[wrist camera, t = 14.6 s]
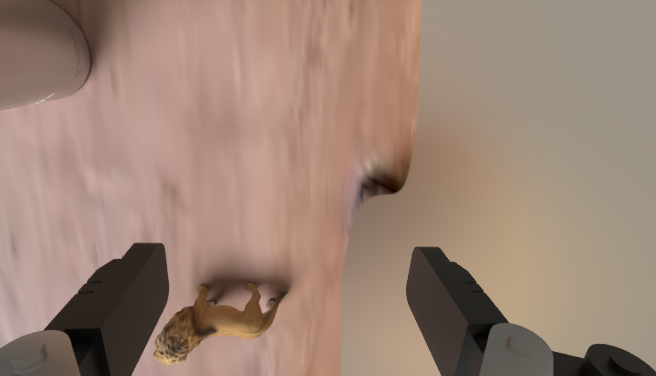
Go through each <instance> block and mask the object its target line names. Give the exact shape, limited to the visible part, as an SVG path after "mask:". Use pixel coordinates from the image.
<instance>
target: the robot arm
mask: <svg viewBox="0 0 656 376" xmlns="http://www.w3.org/2000/svg"><path fill="white" fill-rule="evenodd" d="M89 68H90V53H89V49H88V45H87V42H86V40H85V38H84V36H83V33H82V31H81V30H80V28H79V27H78V26H77V24H76V23H75V21H74V20H73V19H72V18H71V17H70V16H69V15H68V14H67V13H66V12H65V11H63V10H62V9H61V8H59V7H58V6H57V5H55V4H54V3H52V2H50V1H48V0H0V110H5V109H10V108H15V107H20V106H25V105H30V104H35V103H40V102H45V101H50V100H55V99H60V98H64V97H66V96H69V95H71V94H73V93H74V92H76V91H77V90H78V89H80V87H81V86H82V85H83V84H84V82H85V80H86V78H87V76H88V74H89ZM168 295H169V280H168V272H167V263H166V254H165V248H164V245H163V244H162V243H134V244H133V245H132V246H131V248H130V249H129V250H128V251H127V252H126V254H125V255H124V256H123V257H122V259H113V260H112V261H110V262H109V263H107V264H105V265H104V266H102V267H100V268H99V269H97V270H96V272H95V273H94V274H93V275H92V276H91V277H90V278H89V279H88V281H87V284H84V285H83V286H82V287H81V289H80V290H79V291H78V294H75V295H74V296H73V298H72V299H71V300H70V301H69V302H68V303H67V304H66V305H65V307H64V308H63V309H62V310H61V311H60V312H59V313H58V314H57V316H56V317H55V318H54V319H53V320H52V321H51V322H50V323H49V325H48V326H47V327H46V328H45V329H44V330H43V331H39V332H34V333H31V334H28V335H25V336H22V337H20V338H18V339H16V340H14V341H12V342H10V343H8V344H6V345H5V346H3V347H2V348H0V376H131V375H132V373H133V371H134V369H135V367H136V365H137V363H138V361H139V359H140V357H141V355H142V353H143V351H144V349H145V347H146V345H147V342H148V340H149V338H150V336H151V334H152V332H153V330H154V328H155V326H156V324H157V322H158V320H159V318H160V316H161V314H162V312H163V310H164V308H165V306H166V303H167V300H168ZM406 296H407V301H408V304H409V307H410V309H411V311H412V313H413V315H414V317H415V320H416V322H417V324H418V326H419V328H420V330H421V332H422V335H423V337H424V339H425V341H426V343H427V346H428V348H429V350H430V352H431V354H432V356H433V359H434V361H435V363H436V365H437V367H438V369H439V372H440V374H441V376H656V371H655V370H653V369H652V368H651V367H650V366H649V365H648V364H646V363H645V362H644V361H642V360H641V359H640V358H638V357H636V356H635V355H633V354H631V353H629V352H627V351H625V350H623V349H620V348H617V347H614V346H611V345H607V344H594V345H592V346H590V347H589V348H588V350H587V353H586V355H585V357H584V358H580V357H575V356H571V355H567V354H562V353H558V352H554V351H551V349H550V347H549V346H548V345H547V343H546V342H545V341H544V340H543V339H542V338H540V337H539V336H538V335H537V334H535V333H534V332H532V331H530V330H528V329H526V328H524V327H522V326H519V325H515V324H511V323H509V322H508V321H507V319H506V318H505V317H504V316H503V315H502V313H501V312H500V311H499V309H498V308H497V307H496V306H495V305H494V303H493V302H492V301H491V300H490V298H489V297H488V296H487V294H486V293H484V291H483V290H482V288H481V287H480V286H479V285H478V284H477V283H476V281H475V279H474V278H473V277H472V276H471V274H470V273H469V272H468V271H467V270H465V269H464V268H462V267H461V266H460V265H458V264H457V263H455V262H450V261H449V260H448V258H447V257H446V256H445V254H444V253H443V252H442V250H441V249H440V248H439V247H415V248H414V250H413V253H412V258H411V264H410V269H409V274H408V280H407V285H406Z"/></svg>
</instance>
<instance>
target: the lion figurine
mask: <svg viewBox="0 0 656 376" xmlns="http://www.w3.org/2000/svg"><path fill="white" fill-rule="evenodd" d="M246 290H247V291H250V292H252V293H253V296H252V298H251V299H250V301H249V302H248V303H247V304H246V307H245V310H244V311H239V310H237V309H236V308H233V307H231V306H225V305H218V306H215V304H214V302H206V301H207V296H208V294H209V293H208V289H207V288H206V287H205V286H203V285H201V286H199V287H198V289H197V291H198V293H199V294H200V295H199V296H198V298H197V299H196V301H195V303H194V306H189V307H184V308H183V309H182V310H181V311H179V312H177V313H175V315H174V316H173V317H172V318H171V319H170V321H169V322H168V323H167V324H166V325H165V326H164V328H163V330H162V332H161V333H160V334H159V335H158V336H157V339H156V340H155V346H156V350H155V352H154V354H153V358H154V359H157V360H158V361H159V362H162V363H163V364H165V365H170V364H174V363H175V362H176V363H180V362H182V361H185V360H186V357H187V354H189V353H190V351H192V350H193V348H194V347H197V346H199V344H200V342H201V341H202V340H204V339H206V338H208V337H211V336H225V335H232V336H237V337H240V338H243V339H254V338H257V337H259V336H260V335H261V334H262V333H263V332H265V331H266V330H267V329H268V328H269V327H270V325H271V324H272V322H273V320H274V317H275V315H276V312H277V308H278V305H279V303H280V301H281V299H282V298H284V296H285V295H286V294H287V293H288V291H284V292H282V293H281V294H280V295H279V297H278V298H277V300H276V302H274V301H268V302H267V303H266V306H267V307H268V308H270V309H269V310H268V311H267V312H265V313H263V314H262V312H261V309H260V305H259V300H260V298H261V295H260V293H259V292H258V290H257V288H256V286H255V285H254V284H253V283H247V284H246Z"/></svg>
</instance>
